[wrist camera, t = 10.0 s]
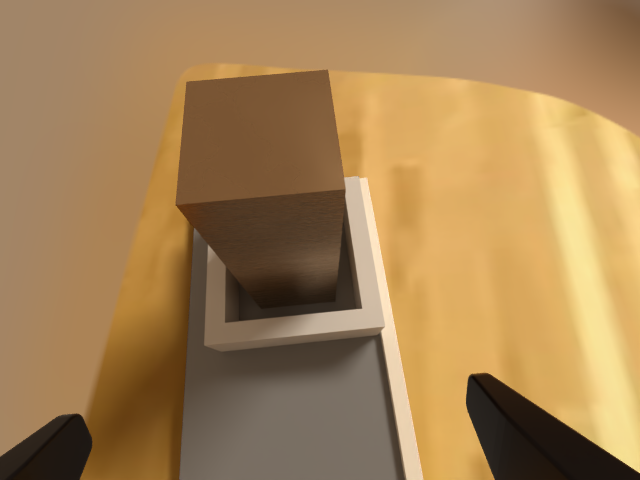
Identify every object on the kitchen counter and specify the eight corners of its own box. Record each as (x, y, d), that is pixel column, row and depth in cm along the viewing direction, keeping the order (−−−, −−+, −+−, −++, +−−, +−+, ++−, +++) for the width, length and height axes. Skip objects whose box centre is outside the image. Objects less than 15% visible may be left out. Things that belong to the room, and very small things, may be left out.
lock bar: (335, 301, 20) (346, 189, 9) (261, 308, 20) (175, 204, 9) (327, 234, 22) (327, 69, 11) (259, 240, 22) (186, 81, 11)
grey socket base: (426, 533, 17) (455, 574, 13) (182, 562, 16) (140, 612, 13) (364, 189, 25) (371, 154, 21) (200, 205, 24) (178, 172, 21)
